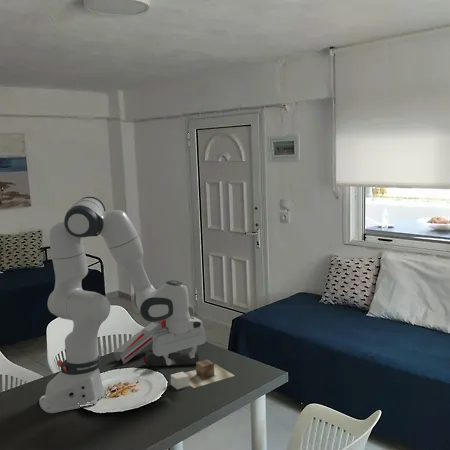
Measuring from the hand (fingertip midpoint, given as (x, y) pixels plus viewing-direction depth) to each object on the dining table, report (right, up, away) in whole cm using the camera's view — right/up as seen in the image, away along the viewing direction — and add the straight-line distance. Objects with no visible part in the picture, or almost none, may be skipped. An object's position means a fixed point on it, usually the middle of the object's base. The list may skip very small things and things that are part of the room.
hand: (180, 360), depth 189 cm
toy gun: (-17, -7, +37) cm, 41 cm away
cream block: (0, -11, +1) cm, 11 cm away
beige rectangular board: (+9, -9, +9) cm, 16 cm away
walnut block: (+9, -8, +9) cm, 15 cm away
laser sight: (-6, -8, +23) cm, 25 cm away
